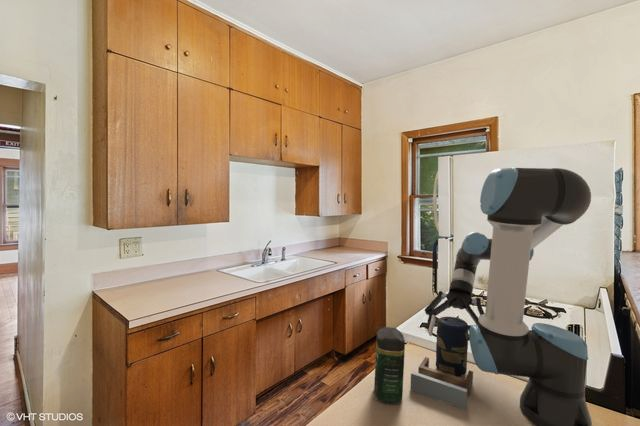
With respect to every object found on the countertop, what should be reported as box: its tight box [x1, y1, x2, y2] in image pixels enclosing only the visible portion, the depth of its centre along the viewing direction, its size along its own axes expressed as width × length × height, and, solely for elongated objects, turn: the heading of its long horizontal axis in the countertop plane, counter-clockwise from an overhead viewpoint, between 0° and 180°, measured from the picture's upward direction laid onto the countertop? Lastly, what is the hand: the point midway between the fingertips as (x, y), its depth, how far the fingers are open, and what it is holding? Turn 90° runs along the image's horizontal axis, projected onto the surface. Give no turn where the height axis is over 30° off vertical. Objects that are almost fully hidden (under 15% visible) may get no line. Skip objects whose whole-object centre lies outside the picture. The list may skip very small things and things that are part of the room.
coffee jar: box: [373, 326, 406, 405], centre depth 90 cm, size 10×8×19 cm
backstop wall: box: [409, 370, 468, 411], centre depth 89 cm, size 15×2×5 cm, turn 56°
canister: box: [435, 316, 469, 378], centre depth 103 cm, size 10×10×18 cm
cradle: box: [417, 356, 474, 398], centre depth 97 cm, size 14×8×4 cm, turn 56°
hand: (451, 339), depth 103 cm, fingers open, 13 cm apart
